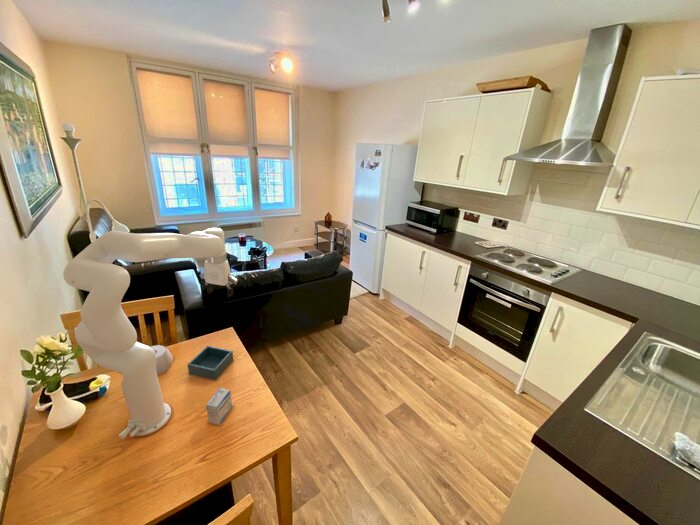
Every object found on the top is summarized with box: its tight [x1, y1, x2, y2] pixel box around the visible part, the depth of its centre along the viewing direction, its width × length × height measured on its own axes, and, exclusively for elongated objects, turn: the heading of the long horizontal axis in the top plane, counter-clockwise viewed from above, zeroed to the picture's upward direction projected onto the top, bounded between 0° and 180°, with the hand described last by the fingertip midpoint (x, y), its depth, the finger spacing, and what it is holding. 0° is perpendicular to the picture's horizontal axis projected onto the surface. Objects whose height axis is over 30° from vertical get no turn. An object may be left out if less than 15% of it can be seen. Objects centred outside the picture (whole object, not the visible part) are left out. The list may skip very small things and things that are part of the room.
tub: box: [187, 345, 234, 381], centre depth 124 cm, size 13×13×5 cm
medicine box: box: [205, 387, 233, 426], centre depth 102 cm, size 8×4×9 cm, turn 168°
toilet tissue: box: [149, 344, 174, 377], centre depth 122 cm, size 9×13×9 cm
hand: (220, 294), depth 126 cm, fingers open, 9 cm apart
